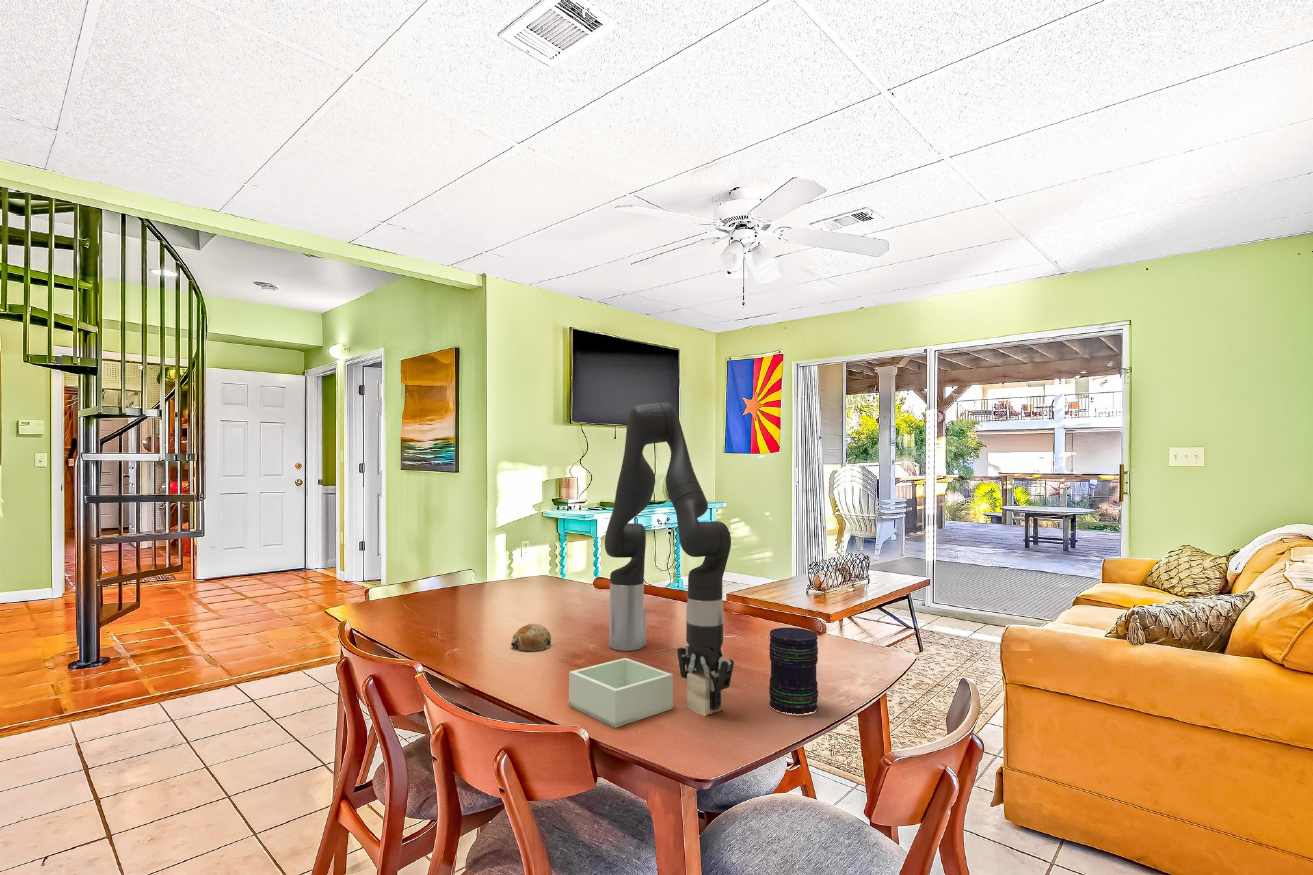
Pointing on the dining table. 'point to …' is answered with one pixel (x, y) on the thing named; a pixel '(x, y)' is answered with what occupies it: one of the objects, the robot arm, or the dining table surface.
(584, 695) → the bin
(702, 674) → the block
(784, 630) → the storage jar
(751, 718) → the dining table surface
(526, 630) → the bread roll
